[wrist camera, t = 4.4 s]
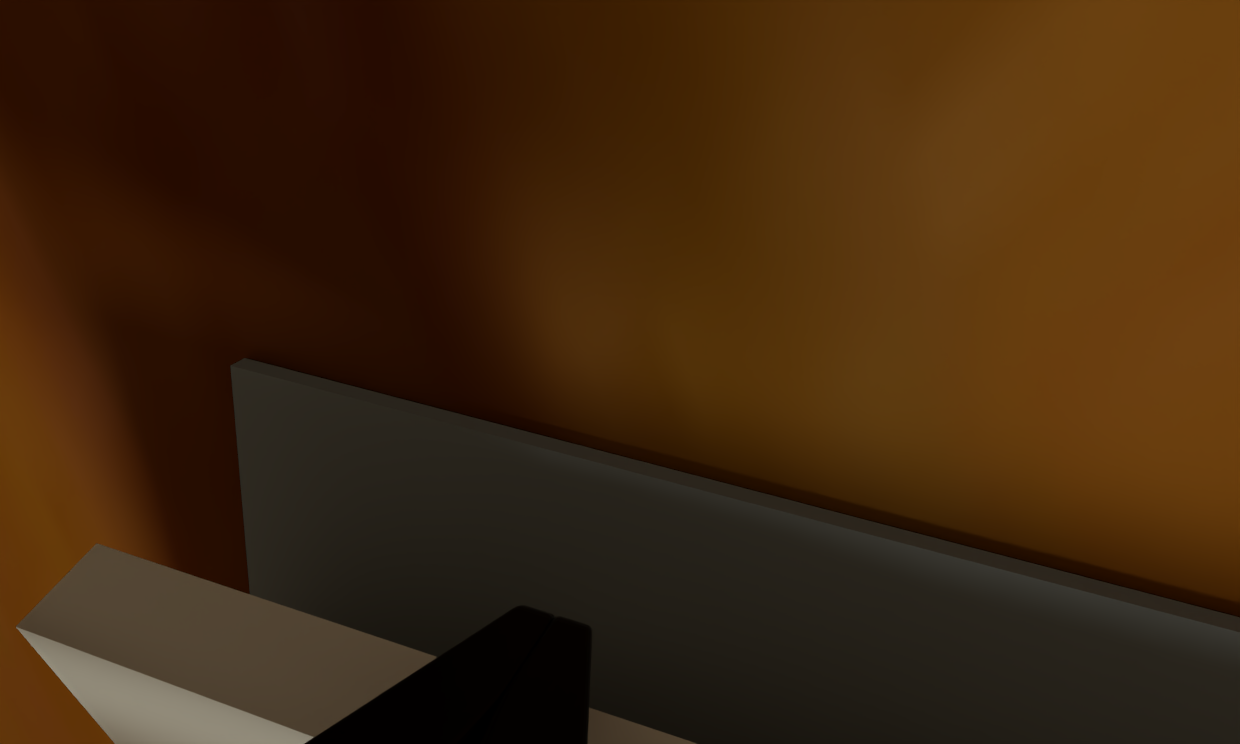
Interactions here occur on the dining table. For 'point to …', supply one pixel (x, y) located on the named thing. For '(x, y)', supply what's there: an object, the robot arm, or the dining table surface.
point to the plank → (219, 660)
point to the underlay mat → (703, 587)
